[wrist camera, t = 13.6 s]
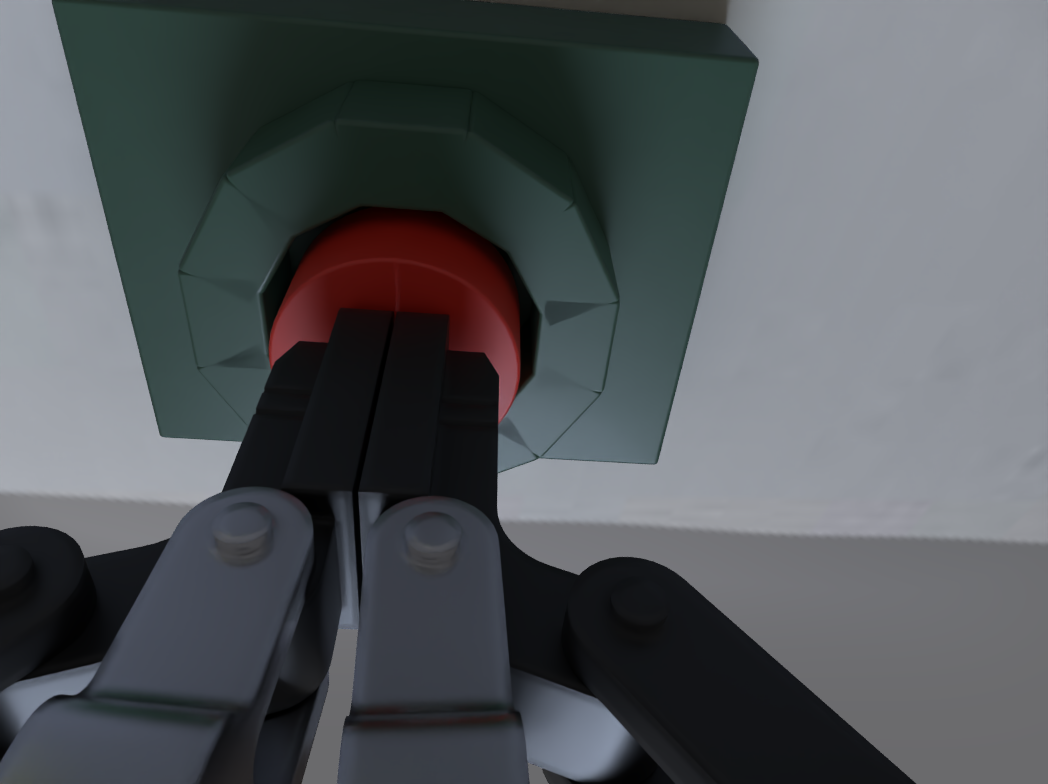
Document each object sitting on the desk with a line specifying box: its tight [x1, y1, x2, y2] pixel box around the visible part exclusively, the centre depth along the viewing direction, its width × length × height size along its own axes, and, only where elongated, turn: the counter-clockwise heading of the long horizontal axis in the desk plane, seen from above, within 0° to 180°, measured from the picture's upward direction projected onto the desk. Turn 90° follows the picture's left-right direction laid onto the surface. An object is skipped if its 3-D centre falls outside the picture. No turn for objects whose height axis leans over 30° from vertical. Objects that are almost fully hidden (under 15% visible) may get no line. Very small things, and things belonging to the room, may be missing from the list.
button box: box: [52, 0, 759, 473], centre depth 14 cm, size 10×8×4 cm
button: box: [269, 207, 521, 424], centre depth 12 cm, size 4×4×2 cm
